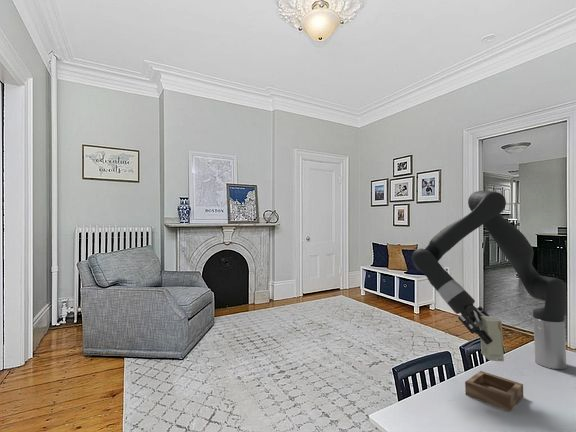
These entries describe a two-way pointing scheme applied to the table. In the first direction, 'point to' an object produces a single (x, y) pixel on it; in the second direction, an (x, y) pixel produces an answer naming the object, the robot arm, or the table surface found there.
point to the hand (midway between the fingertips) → (495, 339)
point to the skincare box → (494, 331)
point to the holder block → (494, 390)
